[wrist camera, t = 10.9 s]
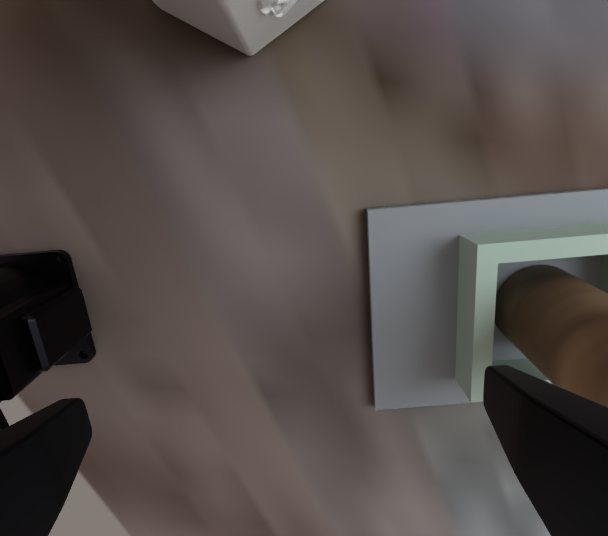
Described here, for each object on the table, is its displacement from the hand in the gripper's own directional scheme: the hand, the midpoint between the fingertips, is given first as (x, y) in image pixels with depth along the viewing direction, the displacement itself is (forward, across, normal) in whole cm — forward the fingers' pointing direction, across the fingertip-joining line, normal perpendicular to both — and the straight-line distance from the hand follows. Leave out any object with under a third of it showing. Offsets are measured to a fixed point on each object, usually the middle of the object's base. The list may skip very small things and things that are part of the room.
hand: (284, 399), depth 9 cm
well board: (+13, -13, +4) cm, 19 cm away
